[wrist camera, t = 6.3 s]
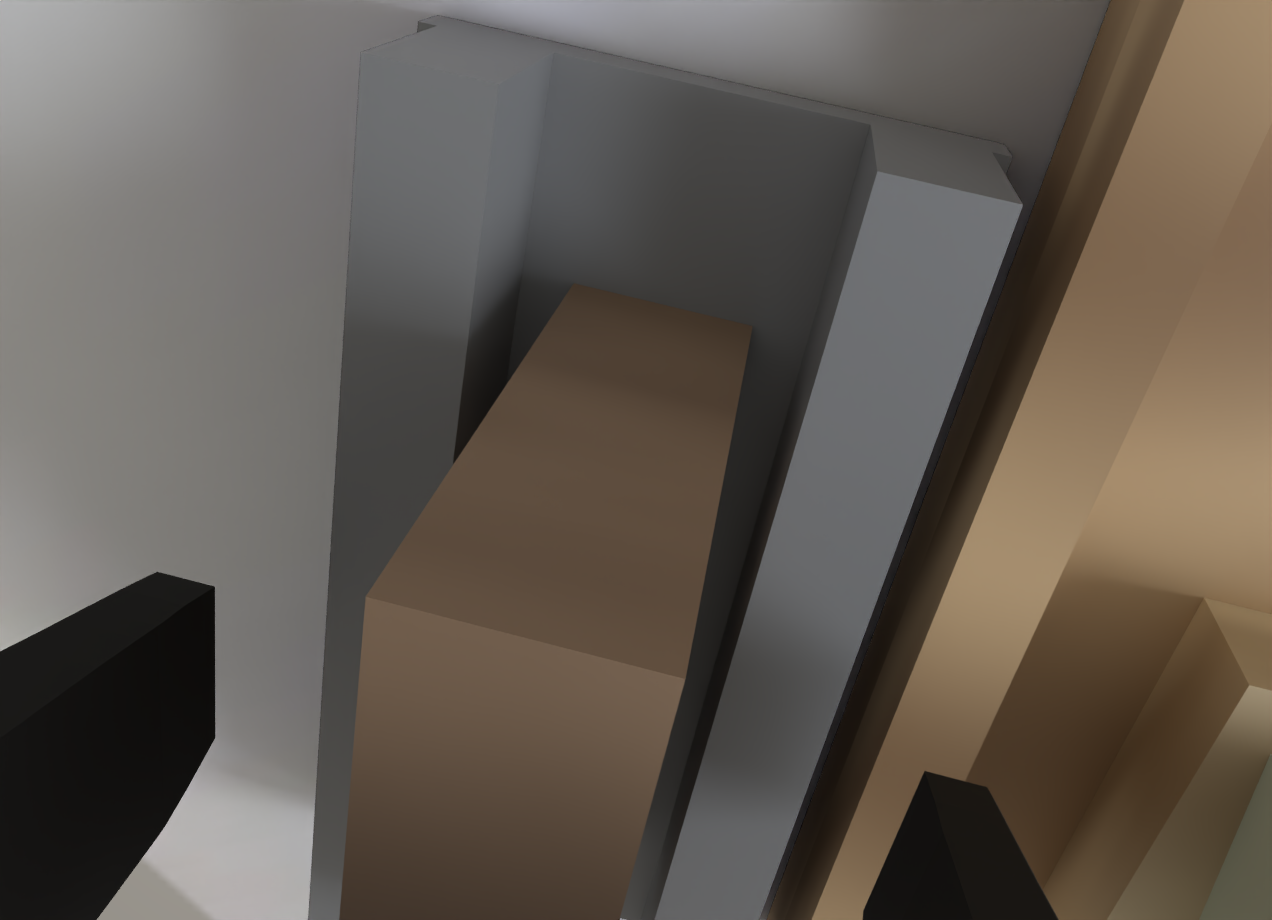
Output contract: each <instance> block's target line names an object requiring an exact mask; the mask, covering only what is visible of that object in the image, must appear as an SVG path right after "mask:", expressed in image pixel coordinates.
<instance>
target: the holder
mask: <svg viewBox="0 0 1272 920" xmlns="http://www.w3.org/2000/svg"><path fill="white" fill-rule="evenodd" d="M1011 160H1012V155H1011V154H1010V152H1009V151H1008V149H1007V148H1006V146H1005V145H1004V144H1001V143H997V142H992V141H988V140H984V139H979V138H975V137H971V136H966V135H962V134H957V133H953V132H949V131H944V130H940V129H935V128H931V127H927V126H922V125H918V124H913V123H909V122H905V121H900V120H896V119H891V118H887V117H883V116H878V115H874V114H869V113H865V112H861V111H856V110H852V109H847V108H843V107H839V106H834V105H830V104H825V103H821V102H817V101H812V100H808V99H803V98H799V97H795V96H790V95H786V94H781V93H777V92H773V91H768V90H764V89H760V88H755V87H751V86H746V85H742V84H738V83H733V82H729V81H724V80H720V79H716V78H711V77H707V76H702V75H698V74H694V73H689V72H685V71H680V70H676V69H672V68H667V67H663V66H658V65H654V64H650V63H645V62H641V61H636V60H632V59H628V58H623V57H619V56H614V55H610V54H606V53H601V52H597V51H592V50H588V49H584V48H579V47H575V46H571V45H566V44H562V43H557V42H553V41H549V40H544V39H540V38H535V37H531V36H527V35H522V34H518V33H513V32H509V31H505V30H500V29H496V28H491V27H487V26H483V25H478V24H474V23H469V22H465V21H461V20H456V19H452V18H447V17H443V16H439V15H437V16H434V17H430V18H427V19H424V20H421V21H418V29H417V33H415V34H412V35H409V36H406V37H403V38H401V39H398V40H395V41H392V42H389V43H386V44H383V45H380V46H377V47H375V48H372V49H369V50H366V51H363V52H361V55H360V72H359V88H358V105H357V121H356V138H355V154H354V171H353V188H352V204H351V221H350V237H349V254H348V270H347V287H346V303H345V320H344V336H343V353H342V370H341V386H340V403H339V419H338V436H337V452H336V469H335V485H334V502H333V518H332V535H331V552H330V568H329V585H328V601H327V618H326V634H325V651H324V667H323V684H322V701H321V717H320V734H319V750H318V767H317V783H316V800H315V816H314V833H313V849H312V866H311V883H310V899H309V916H308V920H339V916H340V903H341V891H342V879H343V867H344V855H345V843H346V830H347V818H348V806H349V794H350V782H351V770H352V757H353V745H354V733H355V721H356V709H357V696H358V684H359V672H360V660H361V648H362V636H363V623H364V611H365V599H366V595H367V594H368V592H369V591H370V589H371V588H372V586H373V585H374V583H375V582H376V580H377V579H378V577H379V576H380V574H381V573H382V571H383V570H384V568H385V567H386V565H387V564H388V562H389V561H390V559H391V558H392V556H393V555H394V553H395V552H396V550H397V549H398V547H399V546H400V544H401V543H402V541H403V540H404V538H405V537H406V535H407V534H408V532H409V531H410V529H411V528H412V526H413V525H414V523H415V522H416V520H417V519H418V517H419V516H420V514H421V513H422V511H423V510H424V508H425V507H426V505H427V504H428V502H429V501H430V499H431V498H432V496H433V495H434V493H435V492H436V490H437V489H438V487H439V486H440V484H441V483H442V481H443V480H444V478H445V477H446V475H447V474H448V472H449V470H450V469H451V467H452V466H453V464H454V463H455V461H456V460H457V458H458V457H459V455H460V454H461V452H462V451H463V449H464V448H465V446H466V445H467V443H468V442H469V440H470V439H471V437H472V436H473V434H474V433H475V431H476V430H477V428H478V427H479V425H480V424H481V422H482V421H483V419H484V418H485V416H486V415H487V413H488V412H489V410H490V409H491V407H492V406H493V404H494V403H495V401H496V400H497V398H498V397H499V395H500V394H501V392H502V391H503V389H504V388H505V386H506V385H507V383H508V382H509V380H510V379H511V377H512V376H513V374H514V373H515V371H516V370H517V368H518V367H519V365H520V364H521V362H522V361H523V359H524V358H525V356H526V355H527V353H528V352H529V350H530V349H531V347H532V346H533V344H534V342H535V341H536V339H537V338H538V336H539V335H540V333H541V332H542V330H543V329H544V327H545V326H546V324H547V323H548V321H549V320H550V318H551V317H552V315H553V314H554V312H555V311H556V309H557V308H558V306H559V305H560V303H561V302H562V300H563V299H564V297H565V296H566V294H567V293H568V291H569V290H570V288H571V287H572V285H573V284H574V283H575V284H579V285H583V286H588V287H592V288H596V289H600V290H604V291H608V292H613V293H617V294H621V295H625V296H629V297H633V298H638V299H642V300H646V301H650V302H654V303H658V304H663V305H667V306H671V307H675V308H679V309H684V310H688V311H692V312H696V313H700V314H704V315H709V316H713V317H717V318H721V319H725V320H729V321H734V322H738V323H742V324H746V325H750V326H753V327H752V333H751V338H750V343H749V348H748V354H747V359H746V364H745V369H744V375H743V380H742V385H741V390H740V396H739V401H738V406H737V411H736V416H735V422H734V427H733V432H732V437H731V443H730V448H729V453H728V458H727V464H726V469H725V474H724V479H723V485H722V490H721V495H720V500H719V506H718V511H717V516H716V521H715V527H714V532H713V537H712V542H711V548H710V553H709V558H708V563H707V569H706V574H705V579H704V584H703V590H702V595H701V600H700V605H699V610H698V616H697V621H696V626H695V631H694V637H693V642H692V647H691V652H690V658H689V663H688V668H687V673H686V679H685V682H684V686H683V690H682V693H681V697H680V701H679V704H678V708H677V712H676V715H675V719H674V723H673V726H672V730H671V734H670V737H669V741H668V744H667V748H666V752H665V755H664V759H663V763H662V766H661V770H660V774H659V777H658V781H657V785H656V788H655V792H654V795H653V799H652V803H651V806H650V810H649V814H648V817H647V821H646V825H645V828H644V832H643V836H642V839H641V843H640V847H639V850H638V854H637V857H636V861H635V865H634V868H633V872H632V876H631V879H630V883H629V887H628V890H627V894H626V898H625V901H624V905H623V909H622V912H621V916H620V918H623V919H627V920H759V919H760V916H761V913H762V910H763V908H764V905H765V902H766V900H767V897H768V894H769V891H770V889H771V886H772V883H773V881H774V878H775V875H776V873H777V870H778V867H779V864H780V862H781V859H782V856H783V854H784V851H785V848H786V845H787V843H788V840H789V837H790V835H791V832H792V829H793V826H794V824H795V821H796V818H797V816H798V813H799V810H800V808H801V805H802V802H803V799H804V797H805V794H806V791H807V789H808V786H809V783H810V780H811V778H812V775H813V772H814V770H815V767H816V764H817V762H818V759H819V756H820V753H821V751H822V748H823V745H824V743H825V740H826V737H827V734H828V732H829V729H830V726H831V724H832V721H833V718H834V715H835V713H836V710H837V707H838V705H839V702H840V699H841V697H842V694H843V691H844V688H845V686H846V683H847V680H848V678H849V675H850V672H851V669H852V667H853V664H854V661H855V659H856V656H857V653H858V651H859V648H860V645H861V642H862V640H863V637H864V634H865V632H866V629H867V626H868V623H869V621H870V618H871V615H872V613H873V610H874V607H875V604H876V602H877V599H878V596H879V594H880V591H881V588H882V586H883V583H884V580H885V577H886V575H887V572H888V569H889V567H890V564H891V561H892V558H893V556H894V553H895V550H896V548H897V545H898V542H899V540H900V537H901V534H902V531H903V529H904V526H905V523H906V521H907V518H908V515H909V512H910V510H911V507H912V504H913V502H914V499H915V496H916V493H917V491H918V488H919V485H920V483H921V480H922V477H923V475H924V472H925V469H926V466H927V464H928V461H929V458H930V456H931V453H932V450H933V447H934V445H935V442H936V439H937V437H938V434H939V431H940V429H941V426H942V423H943V420H944V418H945V415H946V412H947V410H948V407H949V404H950V401H951V399H952V396H953V393H954V391H955V388H956V385H957V382H958V380H959V377H960V374H961V372H962V369H963V366H964V364H965V361H966V358H967V355H968V353H969V350H970V347H971V345H972V342H973V339H974V336H975V334H976V331H977V328H978V326H979V323H980V320H981V318H982V315H983V312H984V309H985V307H986V304H987V301H988V299H989V296H990V293H991V290H992V288H993V285H994V282H995V280H996V277H997V274H998V271H999V269H1000V266H1001V263H1002V261H1003V258H1004V255H1005V253H1006V250H1007V247H1008V244H1009V242H1010V239H1011V236H1012V234H1013V231H1014V228H1015V225H1016V223H1017V220H1018V217H1019V215H1020V212H1021V209H1022V207H1023V204H1022V202H1021V200H1020V199H1019V197H1018V195H1017V194H1016V192H1015V190H1014V188H1013V187H1012V185H1011V183H1010V182H1009V180H1008V178H1007V177H1006V174H1007V171H1008V168H1009V165H1010V163H1011Z"/></svg>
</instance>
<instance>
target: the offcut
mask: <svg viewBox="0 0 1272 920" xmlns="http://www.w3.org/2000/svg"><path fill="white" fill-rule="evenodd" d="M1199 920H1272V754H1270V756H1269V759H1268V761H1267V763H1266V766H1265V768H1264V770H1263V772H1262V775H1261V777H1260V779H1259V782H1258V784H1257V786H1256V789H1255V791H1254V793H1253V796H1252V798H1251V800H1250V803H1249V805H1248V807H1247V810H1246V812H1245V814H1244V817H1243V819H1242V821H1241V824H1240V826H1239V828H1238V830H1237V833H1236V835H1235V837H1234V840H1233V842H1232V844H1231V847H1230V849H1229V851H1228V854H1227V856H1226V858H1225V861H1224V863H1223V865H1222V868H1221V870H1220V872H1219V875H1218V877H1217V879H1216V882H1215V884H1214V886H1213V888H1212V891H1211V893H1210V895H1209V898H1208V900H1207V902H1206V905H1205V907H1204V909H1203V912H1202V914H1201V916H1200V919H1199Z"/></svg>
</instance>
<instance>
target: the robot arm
mask: <svg viewBox="0 0 1272 920" xmlns="http://www.w3.org/2000/svg"><path fill="white" fill-rule="evenodd" d="M214 739H215V587H214V586H210V585H206V584H202V583H198V582H194V581H190V580H187V579H183V578H179V577H175V576H171V575H167V574H163V573H160V572H156V573H154V574H152V575H150V576H148V577H145V578H143V579H141V580H139V581H137V582H135V583H133V584H131V585H129V586H127V587H125V588H123V589H121V590H119V591H117V592H115V593H113V594H111V595H109V596H107V597H105V598H104V599H102V600H100V601H98V602H96V603H94V604H92V605H90V606H88V607H86V608H84V609H82V610H80V611H78V612H77V613H75V614H73V615H71V616H69V617H67V618H65V619H63V620H61V621H59V622H57V623H55V624H53V625H52V626H50V627H48V628H46V629H44V630H42V631H40V632H38V633H36V634H34V635H32V636H30V637H28V638H26V639H24V640H22V641H20V642H18V643H16V644H14V645H12V646H10V647H8V648H6V649H4V650H2V651H0V920H97V918H98V917H99V916H100V914H101V913H102V912H103V910H104V909H105V908H106V906H107V905H108V904H109V902H110V901H111V900H112V898H113V897H114V895H115V894H116V893H117V891H118V890H119V889H120V887H121V886H122V884H123V883H124V882H125V880H126V879H127V878H128V876H129V875H130V874H131V872H132V871H133V869H134V868H135V867H136V866H137V864H138V863H139V862H140V860H141V859H142V857H143V856H144V855H145V853H146V852H147V851H148V849H149V848H150V846H151V845H152V844H153V842H154V841H155V840H156V838H157V837H158V835H159V834H160V833H161V831H162V830H163V828H164V827H165V825H166V824H167V822H168V820H169V819H170V817H171V815H172V813H173V812H174V810H175V808H176V807H177V805H178V803H179V801H180V800H181V798H182V796H183V795H184V793H185V791H186V790H187V788H188V786H189V784H190V782H191V781H192V779H193V777H194V775H195V773H196V772H197V770H198V768H199V766H200V764H201V762H202V761H203V759H204V757H205V755H206V753H207V752H208V750H209V748H210V746H211V744H212V742H213V741H214ZM863 920H1059V919H1058V918H1057V916H1056V914H1055V912H1054V910H1053V908H1052V906H1051V905H1050V903H1049V901H1048V899H1047V897H1046V895H1045V894H1044V892H1043V890H1042V888H1041V886H1040V884H1039V883H1038V881H1037V879H1036V877H1035V875H1034V873H1033V871H1032V869H1031V868H1030V866H1029V864H1028V862H1027V860H1026V858H1025V856H1024V854H1023V852H1022V851H1021V849H1020V847H1019V845H1018V843H1017V841H1016V839H1015V837H1014V835H1013V834H1012V832H1011V830H1010V828H1009V826H1008V824H1007V822H1006V820H1005V818H1004V817H1003V815H1002V813H1001V811H1000V809H999V807H998V805H997V804H996V802H995V800H994V798H993V796H992V795H991V793H990V791H989V789H988V788H987V787H985V786H981V785H977V784H973V783H970V782H966V781H962V780H958V779H954V778H950V777H946V776H943V775H939V774H935V773H931V772H927V771H924V773H923V775H922V778H921V780H920V782H919V785H918V787H917V789H916V791H915V794H914V796H913V798H912V801H911V803H910V805H909V807H908V810H907V812H906V814H905V817H904V819H903V821H902V823H901V826H900V828H899V830H898V833H897V835H896V837H895V839H894V842H893V844H892V846H891V849H890V851H889V853H888V855H887V858H886V860H885V862H884V865H883V867H882V869H881V871H880V874H879V876H878V878H877V880H876V883H875V885H874V887H873V890H872V892H871V894H870V896H869V899H868V901H867V903H866V906H865V908H864V910H863Z"/></svg>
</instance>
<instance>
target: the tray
mask: <svg viewBox="0 0 1272 920" xmlns="http://www.w3.org/2000/svg"><path fill="white" fill-rule="evenodd" d="M1203 598H1208V599H1212V600H1216V601H1220V602H1224V603H1228V604H1232V605H1236V606H1240V607H1244V608H1248V609H1252V610H1256V611H1260V612H1264V613H1268V614H1272V0H1111V1H1110V4H1109V7H1108V9H1107V12H1106V15H1105V17H1104V20H1103V23H1102V25H1101V28H1100V31H1099V33H1098V36H1097V39H1096V41H1095V44H1094V47H1093V49H1092V52H1091V55H1090V57H1089V60H1088V63H1087V65H1086V68H1085V71H1084V73H1083V76H1082V79H1081V81H1080V84H1079V87H1078V89H1077V92H1076V95H1075V97H1074V100H1073V103H1072V105H1071V108H1070V111H1069V113H1068V116H1067V119H1066V121H1065V124H1064V127H1063V129H1062V132H1061V135H1060V137H1059V140H1058V143H1057V145H1056V148H1055V151H1054V153H1053V156H1052V159H1051V161H1050V164H1049V167H1048V169H1047V172H1046V175H1045V177H1044V180H1043V183H1042V185H1041V188H1040V191H1039V194H1038V196H1037V199H1036V202H1035V204H1034V207H1033V210H1032V212H1031V215H1030V218H1029V220H1028V223H1027V226H1026V228H1025V231H1024V234H1023V236H1022V239H1021V242H1020V244H1019V247H1018V250H1017V252H1016V255H1015V258H1014V260H1013V263H1012V266H1011V268H1010V271H1009V274H1008V276H1007V279H1006V282H1005V284H1004V287H1003V290H1002V292H1001V295H1000V298H999V300H998V303H997V306H996V308H995V311H994V314H993V316H992V319H991V322H990V324H989V327H988V330H987V332H986V335H985V338H984V340H983V343H982V346H981V348H980V351H979V354H978V356H977V359H976V362H975V364H974V367H973V370H972V372H971V375H970V378H969V380H968V383H967V386H966V388H965V391H964V394H963V396H962V399H961V402H960V404H959V407H958V410H957V412H956V415H955V418H954V420H953V423H952V426H951V428H950V431H949V434H948V437H947V439H946V442H945V445H944V447H943V450H942V453H941V455H940V458H939V461H938V463H937V466H936V469H935V471H934V474H933V477H932V479H931V482H930V485H929V487H928V490H927V493H926V495H925V498H924V501H923V503H922V506H921V509H920V511H919V514H918V517H917V519H916V522H915V525H914V527H913V530H912V533H911V535H910V538H909V541H908V543H907V546H906V549H905V551H904V554H903V557H902V559H901V562H900V565H899V567H898V570H897V573H896V575H895V578H894V581H893V583H892V586H891V589H890V591H889V594H888V597H887V599H886V602H885V605H884V607H883V610H882V613H881V615H880V618H879V621H878V623H877V626H876V629H875V631H874V634H873V637H872V639H871V642H870V645H869V647H868V650H867V653H866V655H865V658H864V661H863V663H862V666H861V669H860V671H859V674H858V677H857V679H856V682H855V685H854V688H853V690H852V693H851V696H850V698H849V701H848V704H847V706H846V709H845V712H844V714H843V717H842V720H841V722H840V725H839V728H838V730H837V733H836V736H835V738H834V741H833V744H832V746H831V749H830V752H829V754H828V757H827V760H826V762H825V765H824V768H823V770H822V773H821V776H820V778H819V781H818V784H817V786H816V789H815V792H814V794H813V797H812V800H811V802H810V805H809V808H808V810H807V813H806V816H805V818H804V821H803V824H802V826H801V829H800V832H799V834H798V837H797V840H796V842H795V845H794V848H793V850H792V853H791V856H790V858H789V861H788V864H787V866H786V869H785V872H784V874H783V877H782V880H781V882H780V885H779V888H778V890H777V893H776V896H775V898H774V901H773V904H772V906H771V909H770V912H769V914H768V917H767V920H863V910H864V908H865V906H866V903H867V901H868V899H869V896H870V894H871V892H872V890H873V887H874V885H875V883H876V880H877V878H878V876H879V874H880V871H881V869H882V867H883V865H884V862H885V860H886V858H887V855H888V853H889V851H890V849H891V846H892V844H893V842H894V839H895V837H896V835H897V833H898V830H899V828H900V826H901V823H902V821H903V819H904V817H905V814H906V812H907V810H908V807H909V805H910V803H911V801H912V798H913V796H914V794H915V791H916V789H917V787H918V785H919V782H920V780H921V778H922V775H923V773H924V771H927V772H931V773H935V774H939V775H943V776H946V777H950V778H954V779H958V780H962V781H966V782H970V783H973V784H977V785H981V786H985V787H987V788H988V789H989V791H990V793H991V795H992V796H993V798H994V800H995V802H996V804H997V805H998V807H999V809H1000V811H1001V813H1002V815H1003V817H1004V818H1005V820H1006V822H1007V824H1008V826H1009V828H1010V830H1011V832H1012V834H1013V835H1014V837H1015V839H1016V841H1017V843H1018V845H1019V847H1020V849H1021V851H1022V852H1023V854H1024V856H1025V858H1026V860H1027V862H1028V864H1029V866H1030V868H1031V869H1032V871H1033V873H1034V875H1035V877H1036V879H1037V881H1038V883H1039V884H1040V886H1041V888H1042V890H1043V888H1044V886H1045V884H1046V883H1047V881H1048V879H1049V877H1050V875H1051V874H1052V872H1053V870H1054V868H1055V866H1056V865H1057V863H1058V861H1059V859H1060V857H1061V856H1062V854H1063V852H1064V850H1065V848H1066V846H1067V845H1068V843H1069V841H1070V839H1071V837H1072V836H1073V834H1074V832H1075V830H1076V828H1077V827H1078V825H1079V823H1080V821H1081V819H1082V818H1083V816H1084V814H1085V812H1086V810H1087V808H1088V807H1089V805H1090V803H1091V801H1092V799H1093V798H1094V796H1095V794H1096V792H1097V790H1098V789H1099V787H1100V785H1101V783H1102V781H1103V779H1104V778H1105V776H1106V774H1107V772H1108V770H1109V769H1110V767H1111V765H1112V763H1113V761H1114V760H1115V758H1116V756H1117V754H1118V752H1119V751H1120V749H1121V747H1122V745H1123V743H1124V741H1125V740H1126V738H1127V736H1128V734H1129V732H1130V731H1131V729H1132V727H1133V725H1134V723H1135V722H1136V720H1137V718H1138V716H1139V714H1140V712H1141V711H1142V709H1143V707H1144V705H1145V703H1146V702H1147V700H1148V698H1149V696H1150V694H1151V693H1152V691H1153V689H1154V687H1155V685H1156V684H1157V682H1158V680H1159V678H1160V676H1161V674H1162V673H1163V671H1164V669H1165V667H1166V665H1167V664H1168V662H1169V660H1170V658H1171V656H1172V655H1173V653H1174V651H1175V649H1176V647H1177V646H1178V644H1179V642H1180V640H1181V638H1182V636H1183V635H1184V633H1185V631H1186V629H1187V627H1188V626H1189V624H1190V622H1191V620H1192V618H1193V617H1194V615H1195V613H1196V611H1197V609H1198V607H1199V606H1200V604H1201V602H1202V600H1203Z"/></svg>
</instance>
